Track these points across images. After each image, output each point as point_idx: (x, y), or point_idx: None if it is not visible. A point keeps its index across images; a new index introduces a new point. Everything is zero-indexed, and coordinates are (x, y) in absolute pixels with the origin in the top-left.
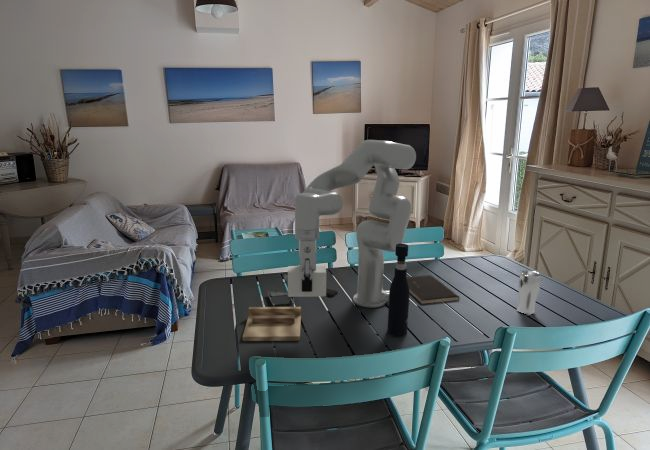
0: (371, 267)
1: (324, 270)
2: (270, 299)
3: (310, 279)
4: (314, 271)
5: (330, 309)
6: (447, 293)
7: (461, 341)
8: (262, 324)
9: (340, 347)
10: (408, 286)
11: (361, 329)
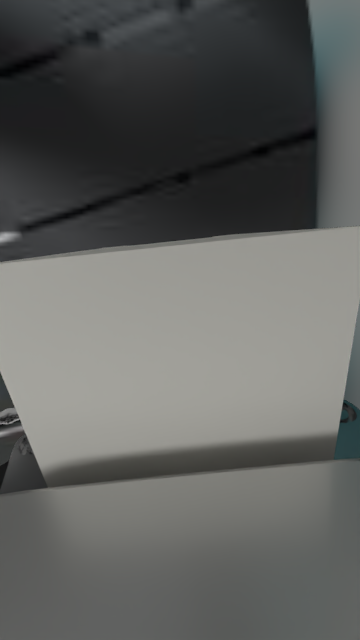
0: None
1: (246, 273)
2: (12, 421)
3: (350, 413)
4: (288, 431)
5: (3, 223)
6: None
7: None
8: None
9: (271, 182)
10: None
11: (146, 87)
